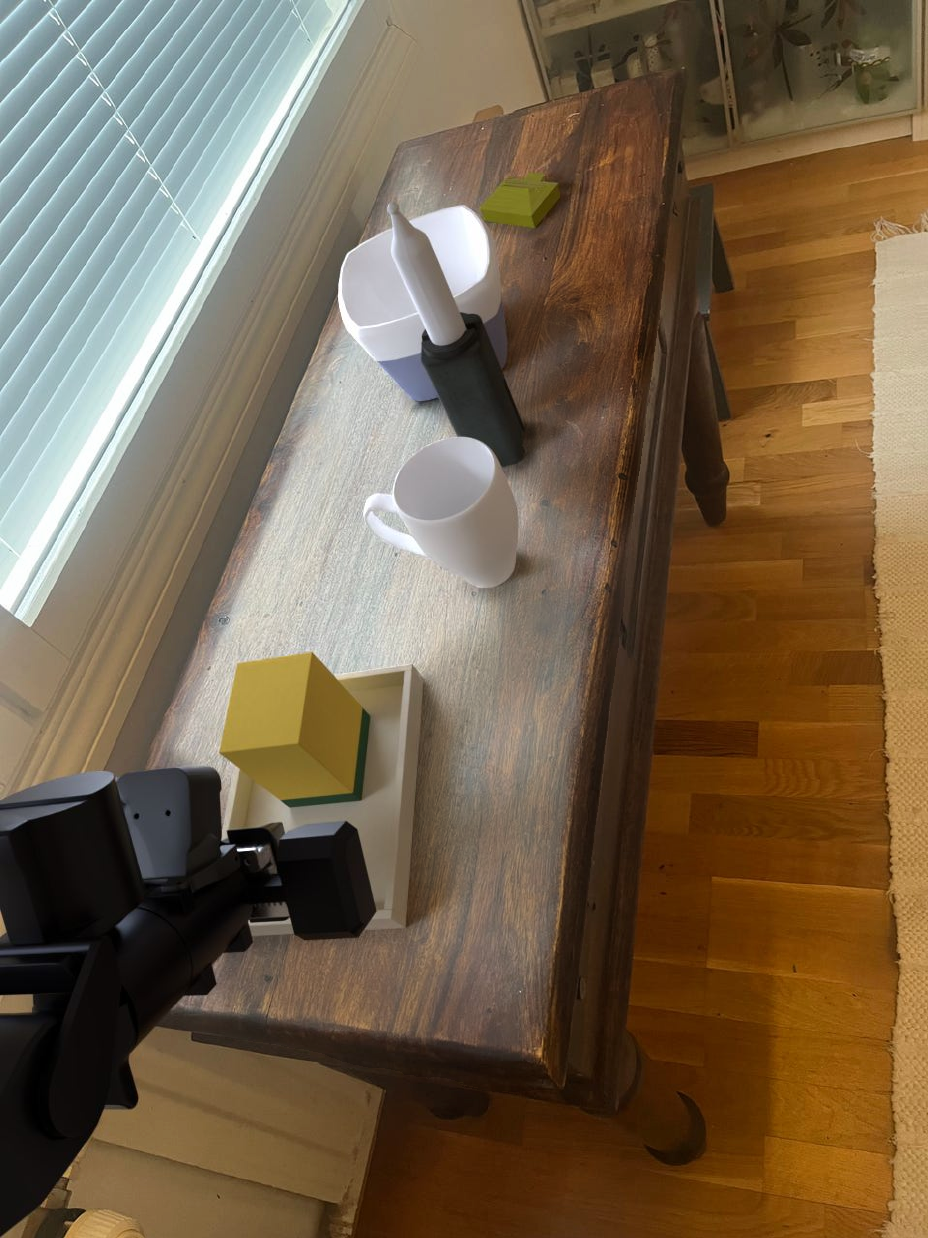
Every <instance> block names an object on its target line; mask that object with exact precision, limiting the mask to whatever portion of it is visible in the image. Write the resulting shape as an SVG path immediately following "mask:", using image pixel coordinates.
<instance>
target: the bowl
mask: <svg viewBox="0 0 928 1238" xmlns="http://www.w3.org/2000/svg"><path fill="white" fill-rule="evenodd" d="M408 221H409V222H410V223H411V224H412V226H413V227H415V228H417V229H419V230H420V231H422V232H424V233H425V234H426V235H427V236H428V238H429V240H430V243H431V245H432V247H433V250H434V252H435V254H436V257H437V259H438V262H439V264H440V266H441V269H442V271H443V274H444V276H445V278H446V281H447V283H448V286H449V288H450V290H451V293H452V295H453V297H454V300H455V302H456V305H457V307H458V309H459V312H463V313H467V314H477V315H479V316H480V317H481V319H482V321H483V324H484V326H485V329H486V331H487V334H488V336H489V339H490V341H491V344H492V346H493V349H494V351H495V354H496V356H497V359H498V361H499V364H500V366H501V369H502V370H503V368H505V366H506V364H507V360H508V336H507V328H506V320H505V319H506V318H505V311H504V302H503V301H504V300H503V294H502V282H501V273H500V263H499V256H498V251H497V244H496V240H495V238H494V236H493V234H492V231H491V229H490V228H489V226H488V225H487V223H486V221H485V220H484V218H483V217H481V216H480V215H479V214H478V213H477V212H475V211H473V209H471V208H469V207H468V206H467V205H464V204H461V205H460V204H459V205H455V206H450V207H449V206H448V207H444V208H441V209H437V210H434V211H431V212H428V213H424V214H422V215H419V216H417V217H414V218H412V219H408ZM393 237H394V236H393V227H390V228H388V229H386V230H383V231H382V232H380V233H378V234H376V235H374V236H371V238H368V239H367V240H364V241H363V242H361V243H360V244H359V245H357V246H355V247H354V248H353V249H350V251H348V252H347V253H346V255H345V258H344V260H343V262H342V264H341V268H340V273H339V281H338V305H339V310H340V314H341V318H342V321H343V324H344V326H345V328H346V330H347V331H348V333H349V334H350V335H351V337H353V338H354V339H355V340H356V342H357V343H358V344H359V345H360V346H361V347H362V348H363V349H364V350H365V352H366V353H367V354H369V356H370V357H371V358H372V359H373V360H374V361H375V362H376V363H377V364H378V365H379V367H381V369H383V370H384V371H385V373H386V374H387V375H388V376H389V377H390V378H391V379H392V380H393V381H394V382H395V383H396V384H397V385H398V387H399V388H400V389H401V390H402V391H403V392H404V393H405V394H406V395H407V397H408V398H410V399H411V400H412V401H414V402H425V401H430V400H434V399H437V398H438V396H437V394H436V392H435V390H434V388H433V386H432V384H431V382H430V379H429V377H428V375H427V373H426V371H425V369H424V367H423V365H422V363H421V342H422V334H423V332H424V330H425V329H426V328H425V326H424V324H423V322H422V320H421V317H420V315H419V313H418V311H417V309H416V307H415V305H414V302H413V300H412V298H411V296H410V294H409V292H408V289H407V287H406V285H405V283H404V281H403V279H402V276H401V274H400V272H399V270H398V268H397V266H396V263H395V261H394V259H393V257H392V254H391V246H392V241H393ZM438 399H439V398H438Z"/></svg>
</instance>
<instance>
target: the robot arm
mask: <svg viewBox="0 0 928 1238" xmlns="http://www.w3.org/2000/svg"><path fill="white" fill-rule="evenodd" d="M222 785H223V784H222V778H221V775H220V773H219V771H218V770H217V769H216V768H214V767H212V766H208V765H205V766H203V765H201V766H170V767H163V768H161V767H160V768H153V769H146V770H138V771H128V772H126V773H123V774H122V775H120V776H115V773H113V772H112V771H107V770H92V771H87V772H85V771H84V772H79V773H73V774H70V775H64V776H61V777H58V778H54V779H50V780H47V781H43V782H41V783H38V784H35V785H32V786H29V787H26V788H24V789H21V790H19V791H17V792H13V793H12V794H10V795H8V796H6V797H4V798H2V799H0V915H1V918H2V921H3V924H4V928H5V931H6V932H5V933H4V934H2V935H1V936H0V996H27V995H32V1007H31V1011H30V1012H29V1011H28V1012H0V1238H2V1237H3V1236H4V1235H5V1234H7V1233H8V1232H10V1231H11V1230H12V1229H13V1228H15V1227H16V1226H17V1225H18V1224H20V1223H21V1222H22V1221H23V1220H25V1219H26V1218H27V1217H29V1216H30V1215H31V1214H32V1213H34V1212H35V1211H36V1210H37V1209H38V1208H40V1207H41V1206H42V1205H43V1203H44V1202H45V1201H46V1200H47V1198H49V1196H50V1194H51V1193H52V1191H53V1190H54V1189H55V1188H56V1186H57V1185H58V1183H59V1182H60V1180H61V1179H62V1177H64V1175H65V1174H66V1172H67V1170H69V1168H70V1166H71V1165H72V1164H73V1163H74V1161H75V1160H76V1158H77V1157H78V1156H79V1154H80V1153H81V1151H82V1150H83V1148H84V1147H85V1146H86V1144H87V1143H88V1142H89V1140H90V1138H91V1137H92V1135H93V1133H94V1132H95V1130H96V1128H97V1126H98V1125H99V1122H100V1120H101V1117H102V1115H103V1113H104V1110H114V1111H115V1110H118V1111H119V1110H120V1111H121V1110H122V1111H124V1110H125V1111H130V1110H133V1109H135V1108H136V1107H137V1105H138V1103H139V1099H140V1097H139V1092H138V1089H137V1085H136V1083H135V1078H134V1075H133V1071H132V1069H131V1065H130V1055H131V1054H132V1053H133V1052H134V1050H136V1048H137V1047H138V1046H139V1045H140V1044H141V1043H142V1042H143V1041H144V1040H145V1039H146V1037H148V1035H149V1034H150V1033H151V1032H152V1031H153V1030H154V1029H155V1028H156V1027H157V1026H158V1025H159V1024H160V1023H161V1022H162V1020H163V1019H164V1018H165V1017H166V1016H167V1014H169V1013H170V1011H171V1010H172V1009H173V1008H174V1007H175V1006H176V1005H177V1004H178V1003H179V1002H180V1001H181V1000H182V998H183V997H195V996H196V997H197V996H209V994H210V993H211V992H212V991H213V989H214V988H216V986H217V985H218V982H217V979H216V974H215V972H214V968H213V965H214V964H215V962H216V961H218V960H219V958H220V957H221V956H222V955H223V954H231V953H234V954H235V953H245V952H246V951H248V950H249V948H250V947H251V946H252V945H253V944H254V943H255V942H254V939H253V936H252V934H251V930H250V927H249V923H248V920H250V923H258V922H275V921H286V920H287V919H289V917H290V920H291V924H292V928H293V932H294V934H293V935H294V936H296V937H297V938H300V939H301V940H303V941H323V940H342V939H359V938H360V937H361V935H362V933H363V932H364V931H365V930H364V929H365V928H366V926H367V925H368V924H369V922H370V921H371V919H372V918H373V916H374V915H375V913H376V912H377V910H376V906H375V902H374V897H373V893H372V889H371V885H370V880H369V876H368V872H367V868H366V863H365V859H364V855H363V850H362V846H361V842H360V838H359V833H358V829H357V828H355V827H354V826H353V825H351V824H350V823H349V822H347V821H338V822H327V823H316V824H306V825H303V826H300V827H298V828H295V829H293V830H290V831H288V832H287V833H286V834H285V830H284V826H283V823H282V822H276V823H269V824H266V825H263V826H261V827H256V828H245V829H235V830H227V835H228V838H226V839H223V840H221V839H222V828H223V825H222V824H223V822H222V807H221V806H222V805H221V792H222V788H223V787H222Z"/></svg>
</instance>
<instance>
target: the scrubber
mask: <svg viewBox="0 0 928 1238" xmlns="http://www.w3.org/2000/svg"><path fill="white" fill-rule="evenodd" d="M235 667H236V668H235V672H234V677H233V681H232V687H231V691H230V697H229V702H228V707H227V712H226V717H225V722H224V727H223V733H222V737H221V741H220V746H219V754H220V755H221V756H222V757H223V758H225V759H227V760H228V761H229V762H230V763H231V764H233V766H234V765H235V766H237V767H238V768H239V769H240V770H242V771H243V772H244V773H246V774H247V775H248V776H249V777H251V778H252V779H253V780H255V781H256V782H257V783H258V784H260V785H261V786H262V787H264V788H265V789H266V790H267V791H269V792H270V793H271V794H273V795H274V796H275V797H276V798H278V799H279V800H281V801H282V802H283V803H284V804H285V805H287V806H288V807H289V808H291V807H301V806H312V805H322V804H332V803H342V802H353V801H361V800H362V792H363V782H364V773H365V763H366V754H367V744H368V735H369V725H370V715H369V714H368V713H367V712H366V711H365V709H364V708H362V706H361V705H360V704H359V703H358V702H357V701H356V699H355V698H354V697H353V696H352V695H351V694H350V693H349V692H348V691H347V690H346V688H345V687H344V686H343V685H342V684H341V683H340V682H339V681H338V680H337V678H336V677H335V676H334V675H335V674H333V673H332V672H331V671H330V669H329V668H328V667H327V666H326V665H325V664H324V663H323V661H321V659H320V658H319V657H317V655H316V654H315V653H314V652H313V651H308V652H304V653H302V652H301V653H296V654H295V653H294V654H289V655H282V656H275V657H270V658H263V659H255V660H249V661H242V662H237V663H236V666H235Z"/></svg>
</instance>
